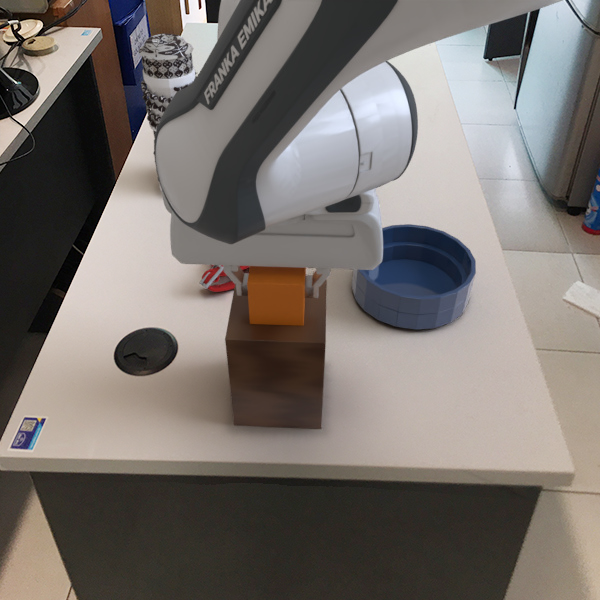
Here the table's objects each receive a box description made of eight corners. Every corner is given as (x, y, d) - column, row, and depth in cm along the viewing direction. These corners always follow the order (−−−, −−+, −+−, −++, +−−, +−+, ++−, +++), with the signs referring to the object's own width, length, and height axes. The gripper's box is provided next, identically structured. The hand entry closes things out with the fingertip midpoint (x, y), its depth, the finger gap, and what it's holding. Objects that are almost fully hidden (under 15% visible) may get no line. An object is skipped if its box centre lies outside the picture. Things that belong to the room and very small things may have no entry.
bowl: (482, 278, 92) (490, 245, 88) (444, 348, 81) (452, 314, 77) (380, 245, 97) (383, 212, 93) (332, 306, 87) (334, 272, 83)
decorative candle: (209, 169, 114) (194, 26, 97) (211, 197, 107) (197, 48, 90) (157, 173, 113) (134, 29, 96) (157, 201, 106) (132, 51, 89)
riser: (322, 363, 79) (326, 278, 70) (321, 428, 71) (325, 342, 62) (243, 360, 79) (236, 275, 70) (233, 425, 72) (224, 339, 62)
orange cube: (305, 290, 68) (306, 250, 64) (303, 326, 64) (304, 284, 60) (254, 289, 68) (252, 248, 64) (249, 324, 64) (247, 283, 60)
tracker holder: (213, 241, 96) (276, 231, 94) (221, 267, 98) (283, 258, 96) (190, 275, 85) (260, 266, 83) (199, 304, 87) (268, 295, 85)
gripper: (151, 191, 53) (172, 310, 63) (392, 198, 53) (378, 317, 62) (166, 154, 58) (183, 270, 67) (388, 160, 58) (375, 276, 67)
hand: (278, 293), depth 65 cm, fingers closed on orange cube, 5 cm apart
